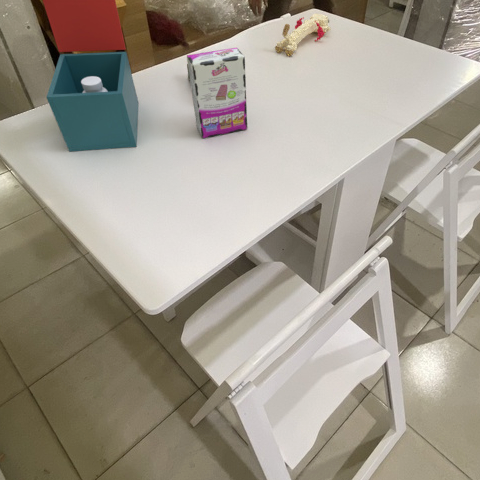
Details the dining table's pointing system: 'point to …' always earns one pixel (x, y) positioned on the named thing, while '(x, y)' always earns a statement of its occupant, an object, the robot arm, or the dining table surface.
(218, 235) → the dining table surface
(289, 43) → the fuzzy plush toy
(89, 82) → the supplement bottle
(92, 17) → the lid
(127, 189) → the dining table surface
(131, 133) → the teal open box
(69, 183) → the dining table surface
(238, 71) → the candy bar box
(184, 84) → the dining table surface
